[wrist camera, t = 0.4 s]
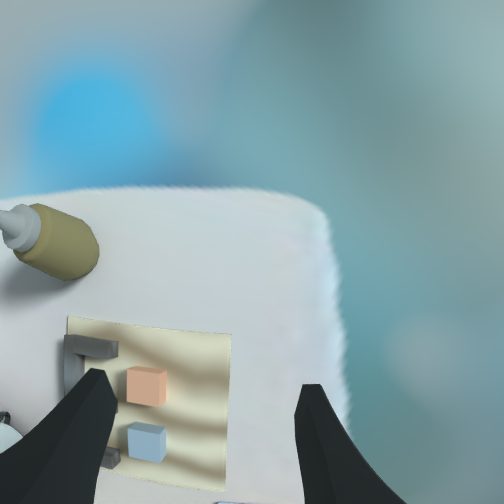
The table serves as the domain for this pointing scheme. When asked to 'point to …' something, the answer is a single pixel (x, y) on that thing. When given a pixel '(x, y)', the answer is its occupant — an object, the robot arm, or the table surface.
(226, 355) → the comb board
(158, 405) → the peach square block
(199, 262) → the table surface
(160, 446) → the slate-blue plug
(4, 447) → the coffee press
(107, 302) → the table surface
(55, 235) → the squeeze bottle
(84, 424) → the robot arm
